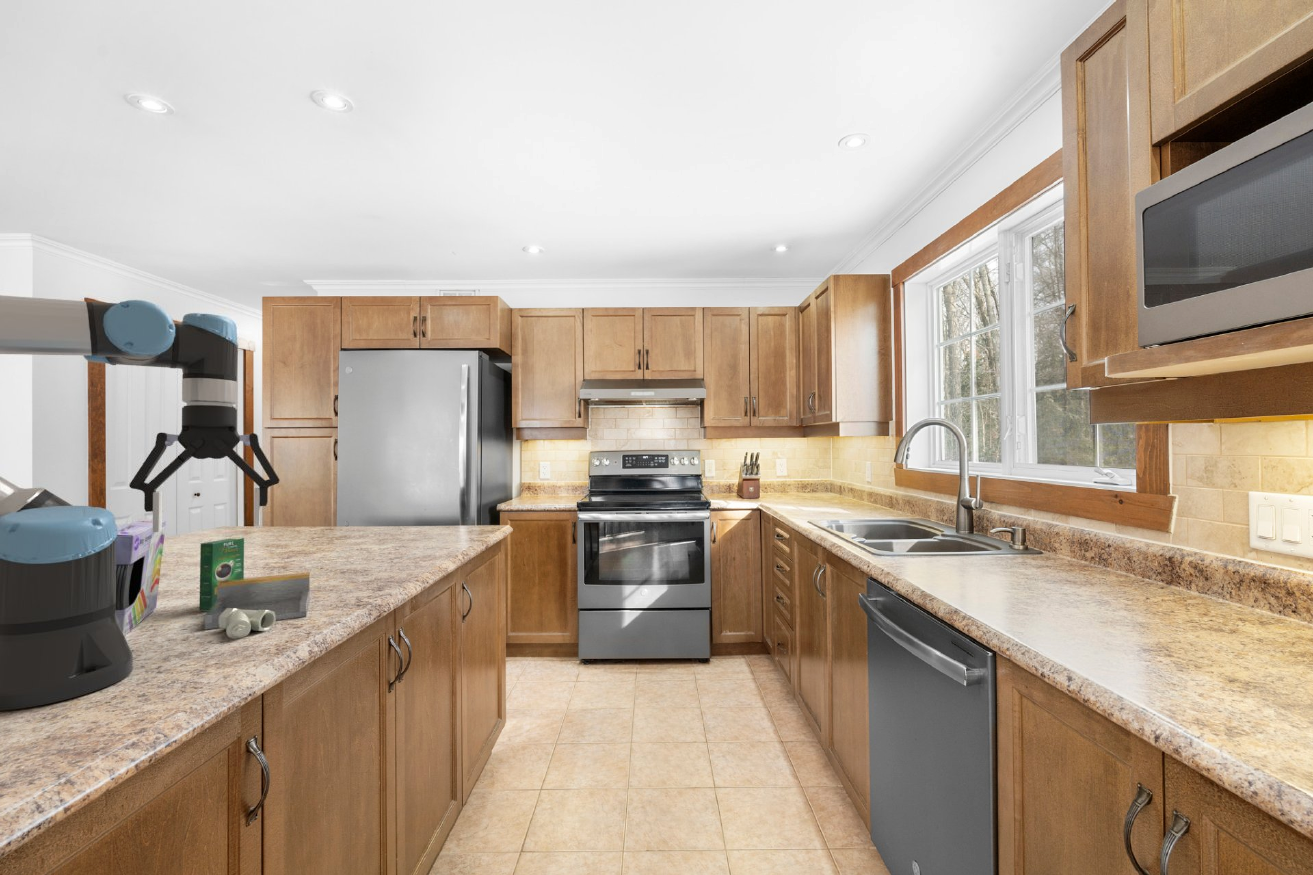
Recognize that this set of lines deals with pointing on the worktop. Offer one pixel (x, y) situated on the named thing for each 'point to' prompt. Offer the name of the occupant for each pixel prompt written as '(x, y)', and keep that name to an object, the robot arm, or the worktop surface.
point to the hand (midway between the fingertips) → (208, 528)
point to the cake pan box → (137, 571)
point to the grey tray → (262, 596)
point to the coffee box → (219, 567)
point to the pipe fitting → (245, 621)
